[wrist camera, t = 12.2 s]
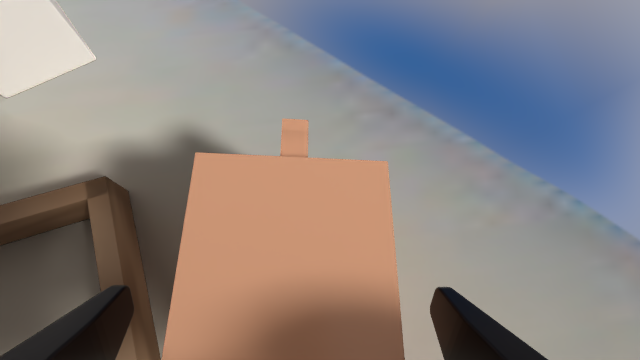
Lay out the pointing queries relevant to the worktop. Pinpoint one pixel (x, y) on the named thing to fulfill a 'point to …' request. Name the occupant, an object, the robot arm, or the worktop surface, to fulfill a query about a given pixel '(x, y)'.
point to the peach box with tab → (286, 259)
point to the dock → (109, 243)
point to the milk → (37, 44)
